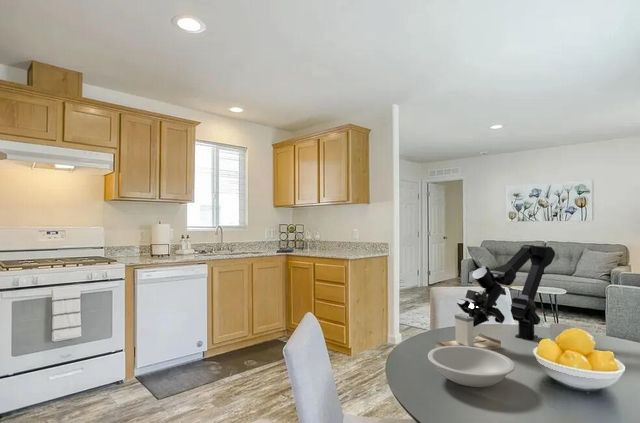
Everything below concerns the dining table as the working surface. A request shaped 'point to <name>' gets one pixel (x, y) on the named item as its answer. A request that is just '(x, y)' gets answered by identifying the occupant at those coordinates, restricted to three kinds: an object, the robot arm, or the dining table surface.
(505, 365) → the soup bowl
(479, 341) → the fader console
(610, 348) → the dining table surface
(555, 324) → the white cup
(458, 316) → the cream rectangular box
